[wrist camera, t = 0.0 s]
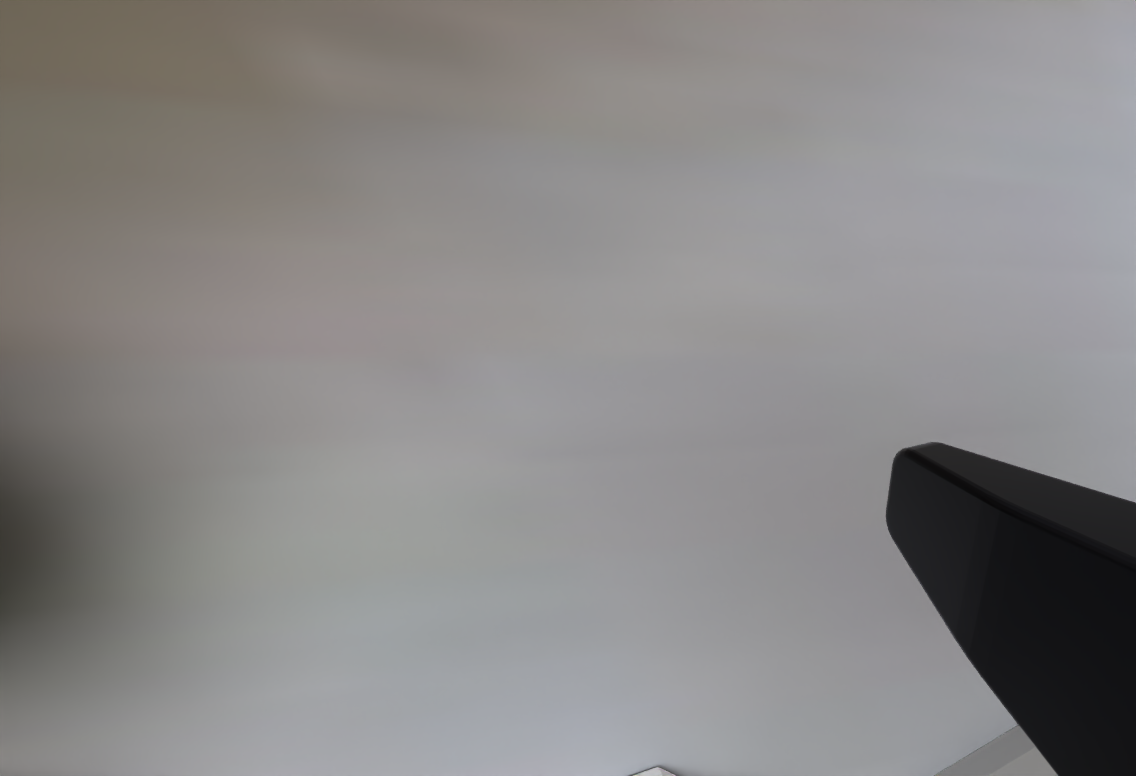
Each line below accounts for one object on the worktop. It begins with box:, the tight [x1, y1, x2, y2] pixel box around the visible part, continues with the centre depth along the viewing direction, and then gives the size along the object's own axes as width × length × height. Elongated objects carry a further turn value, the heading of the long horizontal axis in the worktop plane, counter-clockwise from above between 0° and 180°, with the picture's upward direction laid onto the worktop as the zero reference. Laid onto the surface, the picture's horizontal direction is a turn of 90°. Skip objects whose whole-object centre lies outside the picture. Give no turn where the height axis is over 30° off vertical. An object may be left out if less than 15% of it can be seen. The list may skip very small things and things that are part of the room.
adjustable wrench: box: [934, 725, 1058, 776], centre depth 31 cm, size 25×6×2 cm, turn 110°
